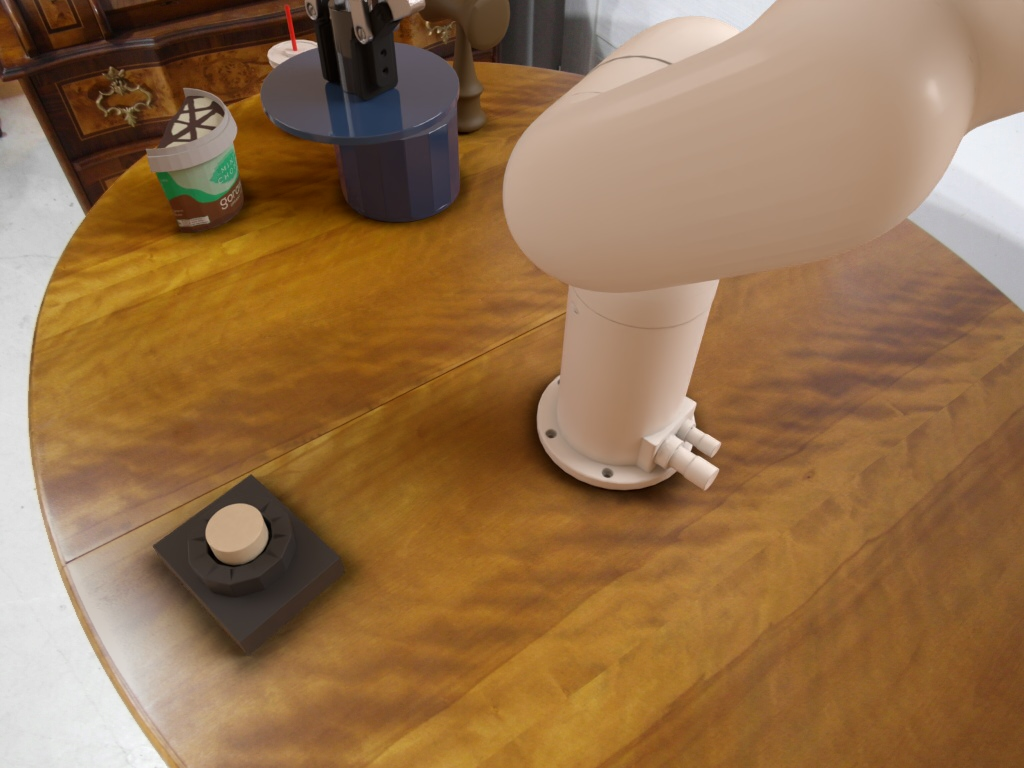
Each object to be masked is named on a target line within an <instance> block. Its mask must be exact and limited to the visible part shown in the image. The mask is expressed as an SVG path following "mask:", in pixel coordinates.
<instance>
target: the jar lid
mask: <svg viewBox="0 0 1024 768" xmlns="http://www.w3.org/2000/svg"><path fill="white" fill-rule="evenodd" d="M368 6H369V12H370V11H371V10H372V9H373V1H372V0H368ZM328 11H329V17H330V24H331V30H332V36H333V43H334V49H335V55H336V62H337V68H338V74H339V79H338V80H336V81H334V82H329V81H327V80H325V79H324V78H323V75H322V69H321V63H320V57H319V52H318V47H317V48H314V49H311V50H308V51H305V52H302V53H300V54H297V55H295V56H293V57H291V58H289V59H287V60H286V61H284V62H282V63H281V64H280V65H278V66H277V67H275V68H274V69H273V68H272V70H271V71H270V72H269V73H268V74H267V76H265V78H264V79H263V81H262V84H261V87H260V91H259V96H260V97H259V98H260V103H261V106H262V109H263V112H264V114H265V115H266V117H267V119H268V120H269V121H270V122H271V123H272V124H273V125H274V126H276V127H277V128H279V129H280V130H281V131H282V132H283V131H284V132H285V133H288V134H290V135H291V136H294V137H297V138H299V139H302V140H305V141H310V142H314V143H320V144H325V145H333V146H334V145H370V144H378V143H385V142H390V141H395V140H399V139H403V138H406V137H409V136H412V135H415V134H418V133H420V132H422V131H424V130H427V129H429V128H431V127H432V126H434V125H436V124H437V123H439V122H440V121H441V120H443V119H444V118H445V117H446V116H447V115H448V114H449V113H450V112H451V111H452V110H453V108H454V107H455V105H456V104H457V101H458V98H459V93H460V85H459V78H458V76H457V74H456V72H455V70H454V69H453V65H451V64H450V63H449V62H448V61H447V60H445V58H443V57H441V56H440V55H438V54H436V53H434V52H432V51H429V50H427V49H426V48H422V47H419V46H415V45H411V44H407V43H401V42H395V41H394V43H395V53H396V64H397V74H398V84H397V86H396V87H394V88H392V89H390V90H388V91H386V92H384V93H382V94H380V95H378V96H376V97H374V98H371V99H369V100H367V101H365V100H363V99H361V98H359V97H358V95H357V90H356V83H355V76H354V69H353V62H352V55H351V48H350V40H352V39H355V38H357V37H356V35H355V31H354V26H353V20H352V15H351V9H350V4H349V0H329V1H328Z"/></svg>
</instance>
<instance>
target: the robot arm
mask: <svg viewBox="0 0 1024 768" xmlns="http://www.w3.org/2000/svg"><path fill="white" fill-rule="evenodd" d="M303 1H304V7H305V11H306V14H307V16H308V17H309V18H310V19H311V20H312V21H315V22H313V27H314V33H315V40H316V43H317V46H318V52H319V57H320V63H321V69H322V75H323V78H324V79H325V80H327V81H329V82H334V81H336V80H338V79H339V74H338V68H337V62H336V55H335V49H334V43H333V36H332V30H331V24H330V17H329V11H328V1H329V0H303ZM349 4H350V9H351V15H352V20H353V26H354V31H355V35H356V37H357V38H355V39H352V40H350V48H351V55H352V62H353V69H354V76H355V83H356V90H357V95H358V97H359V98H361V99H363V100H365V101H367V100H369V99H371V98H374V97H376V96H378V95H380V94H382V93H384V92H386V91H388V90H390V89H392V88H394V87H396V86H397V84H398V74H397V64H396V53H395V43H394V42H395V36H394V35H395V34H394V32H396V31H399V29H400V25H401V24H400V23H401V22H402V21H403V19H404V18H407V17H409V16H412V15H414V14H417V13H419V11H421V10H423V9H424V8H425V0H377V3H376V4H374V5H373V6H372V8H373V9H372V10H371V11H370V12H369V6H368V0H349ZM1020 113H1024V0H775V1H774V2H773V3H772V4H771V5H770V6H769V7H768V8H767V9H766V10H764V12H763V13H761V14H760V16H759V17H758V18H756V20H754V22H753V23H752V24H750V25H749V26H747V27H746V28H745V29H744V30H742V31H740V30H739V29H737V28H736V27H735V26H733V25H731V24H729V23H727V22H725V21H722V20H720V19H716V18H714V17H708V16H702V15H685V16H677V17H672V18H669V19H665V20H663V21H660V22H658V23H656V24H654V25H651V26H649V27H647V28H645V29H642V31H640V32H639V33H637V34H635V35H633V36H632V37H630V38H629V39H628V40H627V41H625V42H624V43H623V44H621V45H620V46H619V47H617V48H616V49H615V50H614V51H613V52H611V53H610V54H609V55H608V56H606V57H605V58H604V59H603V60H602V61H600V62H599V63H598V64H597V65H596V66H595V67H593V68H591V70H590V71H588V73H587V74H586V75H585V76H584V77H583V78H582V79H581V80H580V81H578V82H577V83H576V84H575V85H573V87H571V88H570V89H568V91H566V92H565V93H564V94H563V95H562V96H560V97H559V98H558V99H556V100H555V101H554V102H553V103H552V104H551V105H550V106H549V107H548V108H546V109H545V110H544V111H543V112H542V113H541V114H540V115H539V116H538V117H536V118H535V119H534V121H532V122H531V123H530V125H528V127H527V128H525V130H524V132H523V133H522V134H521V135H520V137H519V138H518V140H517V141H516V143H515V145H514V147H513V149H512V151H511V153H510V156H509V158H508V160H507V164H506V167H505V170H504V175H503V183H502V208H503V213H504V217H505V222H506V225H507V228H508V231H509V232H510V234H511V237H512V239H513V240H514V242H515V243H516V245H517V247H518V248H519V250H520V251H521V252H522V253H523V254H524V255H525V257H526V258H527V259H528V260H529V261H530V262H531V263H532V264H533V265H535V266H536V268H538V269H539V270H540V271H542V272H544V273H545V274H546V275H548V276H550V277H551V278H553V279H555V280H557V281H558V282H562V283H563V284H566V285H568V289H567V300H566V312H565V322H564V332H563V343H562V354H561V361H560V362H561V363H560V373H559V375H557V376H556V377H554V379H553V380H552V381H551V382H550V383H549V384H548V385H547V387H546V388H545V389H544V391H543V393H542V394H541V397H540V398H539V399H540V400H539V402H538V405H537V413H536V430H537V435H538V438H539V441H540V444H541V445H542V447H543V449H544V451H545V453H546V454H547V455H548V456H549V458H550V459H551V461H553V463H554V464H555V465H557V466H558V467H559V468H560V469H561V470H563V472H565V473H567V475H569V476H571V477H572V478H575V479H576V480H578V481H581V482H583V483H586V484H588V485H590V486H593V487H597V488H603V489H606V490H617V491H629V490H630V491H631V490H640V489H644V488H647V487H651V486H654V485H657V484H659V483H661V482H663V481H666V480H667V479H669V478H670V477H672V476H673V475H674V474H675V473H679V474H681V475H682V476H683V478H685V479H686V480H687V481H689V482H690V483H692V484H693V485H695V486H696V487H698V488H699V489H701V490H702V491H704V492H705V491H707V490H708V489H709V488H710V486H712V484H713V483H714V481H715V479H716V478H717V476H718V474H719V472H720V468H718V466H716V465H714V464H713V463H711V462H709V461H708V460H706V459H705V458H703V457H702V456H700V455H696V454H695V453H693V452H692V449H693V447H695V448H696V450H698V451H700V452H701V453H703V455H706V456H707V457H708V458H710V459H712V458H714V457H715V455H716V454H717V453H718V451H719V450H720V448H721V445H722V442H721V441H719V440H717V438H714V437H713V436H711V435H709V434H708V433H705V432H703V431H702V430H701V429H698V428H697V423H696V419H695V414H694V413H695V411H696V407H697V401H694V400H693V399H692V398H690V397H689V396H687V393H688V389H689V386H690V382H691V379H692V375H693V371H694V368H695V364H696V361H697V358H698V354H699V350H700V347H701V344H702V340H703V337H704V333H705V329H706V325H707V323H708V319H709V315H710V312H711V308H712V305H713V301H714V300H715V297H716V295H717V290H718V287H719V284H720V280H723V279H730V278H735V277H741V276H747V275H754V274H760V273H765V272H772V271H779V270H783V269H784V270H785V269H789V268H794V267H799V266H806V265H809V264H815V263H817V262H823V261H826V260H829V259H832V258H835V257H837V256H841V255H843V254H846V253H848V252H851V251H853V250H856V249H858V248H860V247H862V246H865V245H866V244H869V243H870V242H872V241H874V240H876V239H878V238H880V237H882V236H883V235H885V234H886V233H888V232H889V231H891V230H892V229H894V228H896V227H897V226H899V225H900V224H901V223H902V222H904V221H905V220H906V219H907V218H908V217H910V216H912V214H913V213H914V212H916V211H917V209H919V208H920V206H921V205H923V203H924V202H925V201H926V200H927V199H928V198H929V197H930V195H931V193H932V192H933V191H934V190H935V188H936V187H937V185H938V184H939V183H940V181H941V180H942V178H943V177H944V175H945V174H946V172H947V170H948V169H949V167H950V165H951V163H952V161H953V159H954V157H955V156H956V153H957V151H958V149H959V147H960V144H961V142H962V141H963V138H964V137H965V136H966V135H968V134H969V133H970V132H972V131H974V130H975V129H977V128H979V127H982V126H985V125H988V124H989V123H992V122H994V121H998V120H1001V119H1004V118H1008V117H1011V116H1014V115H1017V114H1020Z"/></svg>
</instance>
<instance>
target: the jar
mask: <svg viewBox="0 0 1024 768" xmlns="http://www.w3.org/2000/svg"><path fill="white" fill-rule="evenodd" d="M459 146H460V145H459V131H458V118H457V104H456V105H455V107H454V108H453V110H452V111H451V112H450V113H449V114H448V115H447V116H446V117H445V118H444V119H443V120H441V121H440V122H439V123H437V124H436V125H434V126H432V127H431V128H429V129H427V130H424V131H422V132H420V133H418V134H415V135H412V136H409V137H406V138H403V139H399V140H395V141H390V142H385V143H378V144H370V145H333V148H334V149H333V150H334V154H335V160H336V166H337V172H338V178H339V183H340V189H341V192H342V195H343V198H344V200H345V202H346V203H347V205H348V206H349V207H350V208H351V209H352V210H353V211H355V212H357V213H358V214H360V215H362V216H364V217H366V218H369V219H371V220H376V221H381V222H387V223H408V222H415V221H420V220H421V221H422V220H425V219H427V218H430V217H433V216H436V215H437V214H439V213H442V212H443V211H445V210H446V209H448V208H449V207H450V206H451V205H452V204H453V203H454V202H455V200H457V197H458V196H459V194H460V190H461V175H460V174H461V173H460V172H461V171H460V170H461V169H460V147H459Z"/></svg>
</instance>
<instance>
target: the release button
mask: <svg viewBox="0 0 1024 768" xmlns="http://www.w3.org/2000/svg"><path fill="white" fill-rule="evenodd" d="M268 538H269V533H268V529H267V527H266V524H265V522H264V520H263V517H262V515H261V513H260V512H259V511H258V510H257V509H256V508H255V507H253V506H251V505H248V504H233V505H229V506H226V507H224V508H222V509H221V510H219V511H218V512H217V513H215V514H214V515H213V516H212V518H211V519H210V520H209V522H208V524H207V527H206V539H207V542H208V544H209V545H210V547H211V549H212V551H213V553H214V555H215V556H216V558H217V559H218V560H220V561H221V562H223V563H225V564H229V565H241V564H245V563H248V562H250V561H252V560H254V559H255V558H256V557H258V556H259V555H260V554H261V553H262V552H263V550H264V549H265V547H266V545H267V543H268Z"/></svg>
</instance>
